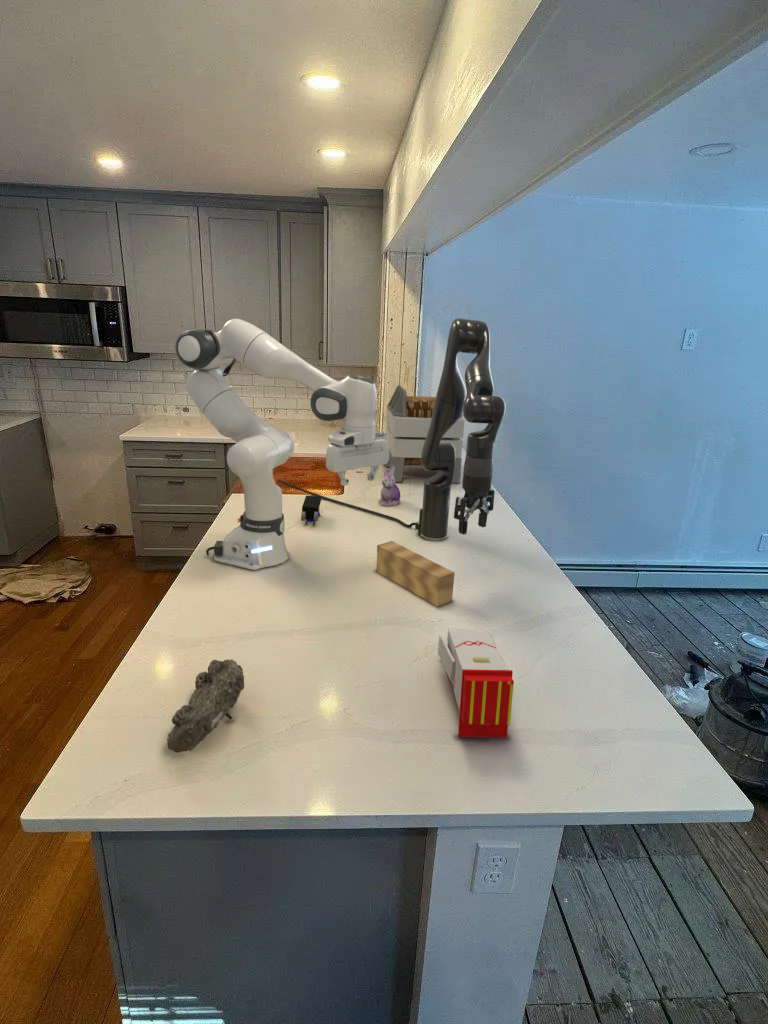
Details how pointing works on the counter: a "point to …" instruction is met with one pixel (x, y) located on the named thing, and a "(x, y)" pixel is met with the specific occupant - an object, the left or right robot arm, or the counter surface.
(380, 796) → the counter surface
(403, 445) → the grey wooden crate
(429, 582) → the bar
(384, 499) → the figurine
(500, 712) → the toy
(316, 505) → the figurine character
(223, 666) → the fossil
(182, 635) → the counter surface
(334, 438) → the left robot arm
